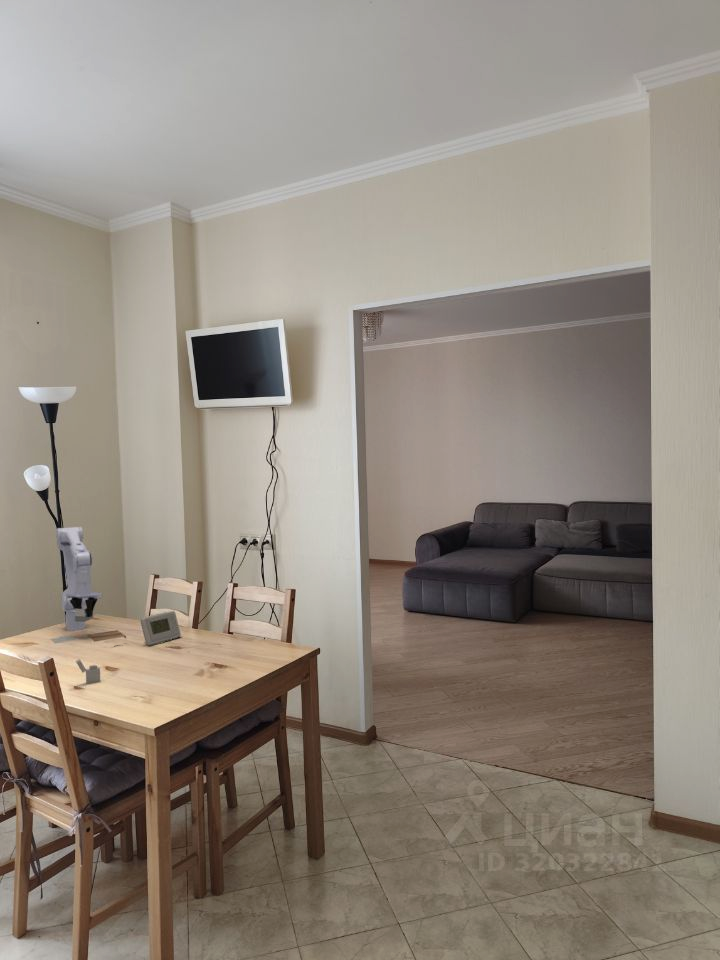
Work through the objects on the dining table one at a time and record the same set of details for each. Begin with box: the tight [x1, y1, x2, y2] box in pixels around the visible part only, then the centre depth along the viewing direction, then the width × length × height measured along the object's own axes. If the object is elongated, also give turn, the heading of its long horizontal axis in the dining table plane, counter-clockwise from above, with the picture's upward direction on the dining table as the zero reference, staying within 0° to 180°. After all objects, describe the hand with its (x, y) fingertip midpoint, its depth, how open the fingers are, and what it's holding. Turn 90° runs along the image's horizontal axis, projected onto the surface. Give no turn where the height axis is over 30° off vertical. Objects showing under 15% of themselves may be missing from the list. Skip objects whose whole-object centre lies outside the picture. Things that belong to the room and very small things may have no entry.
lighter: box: [75, 658, 101, 684], centre depth 222 cm, size 7×2×8 cm, turn 121°
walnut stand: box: [87, 630, 127, 642], centre depth 275 cm, size 12×12×2 cm
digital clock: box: [140, 610, 181, 647], centre depth 271 cm, size 16×9×11 cm, turn 131°
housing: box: [75, 605, 94, 623], centre depth 272 cm, size 4×6×5 cm, turn 168°
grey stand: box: [50, 635, 77, 644], centre depth 270 cm, size 8×8×2 cm
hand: (84, 616), depth 272 cm, fingers closed on housing, 4 cm apart
